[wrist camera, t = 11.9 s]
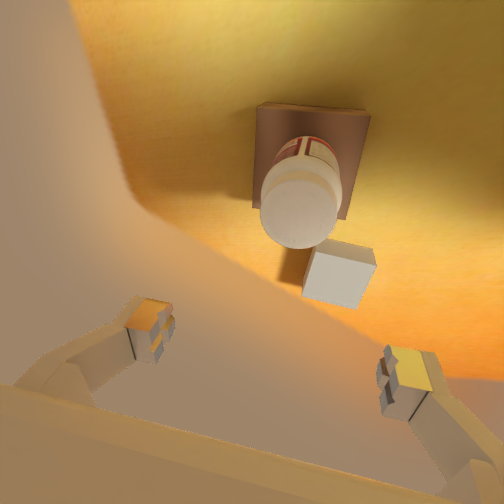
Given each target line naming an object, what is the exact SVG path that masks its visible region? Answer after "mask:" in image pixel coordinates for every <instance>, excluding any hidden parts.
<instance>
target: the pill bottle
mask: <svg viewBox="0 0 504 504" xmlns="http://www.w3.org/2000/svg"><path fill="white" fill-rule="evenodd" d="M341 202H342V186H341V180H340V173H339V165H338V160H337V157H336V154H335V152H334V150H333V149H332V148H331V146H330V145H329V144H328V143H326V142H325V141H323V140H322V139H319V138H317V137H312V136H302V137H298V138H295V139H293V140H291V141H289V142H288V143H286V144H285V145H284V146H283V147H282V148H281V150H280V151H279V152H278V154H277V156H276V158H275V160H274V162H273V164H272V166H271V168H270V169H269V171H268V173H267V175H266V177H265V179H264V182H263V185H262V189H261V203H262V204H261V208H260V218H261V223H262V226H263V228H264V230H265V231H266V233H267V234H268V235H269V236H270V238H272V239H273V240H274V241H275V242H277V243H278V244H280V245H282V246H285V247H288V248H293V249H305V248H310V247H313V246H315V245H318V244H319V243H321V242H322V241H324V240H325V239H326V238H327V237H328V236H329V235H330V234H331V232H332V231H333V229H334V227H335V224H336V221H337V213H338V211H339V209H340V206H341Z"/></svg>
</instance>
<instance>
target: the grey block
mask: <svg viewBox="0 0 504 504" xmlns="http://www.w3.org/2000/svg"><path fill="white" fill-rule="evenodd" d="M376 267H377V264H376V261H375V257H374V253H373V249H371V248H367V247H363V246H358V245H354V244H349V243H345V242H341V241H336V240H332V239H327V238H326V239H325V240H324V241H322V242H321V243H319V244H318V245H315V246H313V249H312V252H311V255H310V258H309V262H308V265H307V268H306V271H305V274H304V278H303V286H302V297H306V298H310V299H314V300H318V301H322V302H326V303H330V304H334V305H338V306H343V307H347V308H351V309H355V310H356V309H357V307H358V305H359V303H360V300H361V298H362V296H363V294H364V292H365V290H366V288H367V286H368V284H369V281H370V279H371V277H372V275H373V273H374V271H375V269H376Z"/></svg>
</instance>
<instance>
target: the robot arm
mask: <svg viewBox="0 0 504 504" xmlns="http://www.w3.org/2000/svg"><path fill="white" fill-rule="evenodd" d="M172 311H173V305H172V304H171V303H169V302H164V301H159V300H155V299H150V298H144V297H140V296H134V297H133V298H132V299H131V300H130V301H129V302H128V303H127V305H126V306H125V307H124V308H123V309H122V311H121V312H120V313H119V314H118V316H117V317H116V318H115V319H114V320H113V321H112V323H111V324H105V325H103V326H101V327H99V328H97V329H95V330H93V331H91V332H89V333H87V334H85V335H82V336H81V337H78V338H76V339H74V340H72V341H71V342H68V343H66V344H64V345H62V346H60V347H58V348H56V349H54V350H52V351H49V352H47V353H46V354H43V355H42V356H41V357H40V358H39V359H38V360H37V361H36V362H35V363H34V364H33V365H32V366H31V367H30V368H29V369H28V370H27V371H26V372H25V373H24V374H23V375H22V376H21V377H20V378H19V379H18V380H17V381H16V382H15V383H14V384H13V385H12V386H11V385H7V384H4V383H0V504H504V444H503V443H502V442H501V441H500V440H499V439H498V438H497V437H496V436H495V435H494V434H493V433H492V432H491V431H490V430H489V429H488V428H487V427H486V426H485V425H484V424H482V422H481V421H480V420H479V419H478V418H477V417H476V416H475V415H474V414H473V413H472V412H471V411H470V410H469V409H468V408H467V407H466V406H465V405H464V404H463V403H462V402H461V401H460V400H459V399H458V398H456V397H452V395H451V392H450V390H449V387H448V384H447V382H446V379H445V376H444V374H443V371H442V368H441V366H440V363H439V360H438V358H437V355H436V354H435V353H433V352H427V351H422V350H417V349H411V348H406V347H400V346H395V345H389V344H388V345H387V346H386V347H385V349H384V356H385V357H383V358H381V359H380V360H379V363H378V366H377V372H376V376H377V385H378V387H379V388H380V389H381V391H382V393H381V395H380V397H379V399H380V405H381V412H382V416H385V417H389V418H393V419H397V420H401V421H405V422H408V424H409V426H410V427H411V429H412V430H413V432H414V433H415V435H416V436H417V437H418V439H419V441H420V442H421V444H422V445H423V446H424V448H425V450H426V451H427V452H428V454H429V455H430V457H431V458H432V460H433V461H434V463H435V464H436V466H437V467H438V469H439V470H440V472H441V473H442V475H443V476H444V478H445V479H446V481H447V482H448V483H447V484H446V485H445V486H444V487H443V488H442V489H441V490H440V491H439V492H438V493H437V494H436V495H431V494H427V493H423V492H419V491H415V490H411V489H407V488H403V487H400V486H396V485H392V484H388V483H384V482H380V481H377V480H373V479H369V478H365V477H361V476H357V475H354V474H350V473H346V472H342V471H338V470H334V469H330V468H327V467H323V466H319V465H315V464H311V463H308V462H304V461H300V460H296V459H292V458H288V457H285V456H281V455H277V454H273V453H269V452H266V451H262V450H258V449H254V448H250V447H246V446H242V445H238V444H235V443H231V442H227V441H223V440H219V439H215V438H212V437H207V436H204V435H200V434H196V433H192V432H188V431H185V430H181V429H177V428H173V427H169V426H165V425H162V424H158V423H154V422H150V421H145V420H142V419H138V418H135V417H131V416H126V415H123V414H119V413H115V412H111V411H108V410H104V409H100V408H97V406H96V403H95V400H94V398H93V396H92V393H93V392H95V391H96V390H97V389H98V388H100V387H101V386H102V385H104V384H105V383H107V382H108V381H110V380H111V379H112V378H114V377H115V376H116V375H118V374H119V373H120V372H122V371H123V370H125V369H126V368H127V367H129V366H130V365H132V364H133V363H134V362H135V360H137V361H141V362H146V363H152V364H157V362H158V360H159V358H160V357H161V355H162V353H163V351H164V347H163V345H164V344H165V343H167V342H169V341H170V339H171V337H172V335H173V332H174V329H175V318H174V317H173V316H172V315H171V313H172Z"/></svg>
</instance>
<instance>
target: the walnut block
mask: <svg viewBox="0 0 504 504" xmlns="http://www.w3.org/2000/svg"><path fill="white" fill-rule="evenodd" d="M370 118H371V116H370V115H369V114H368V113H367V111H366V110H356V109H343V108H330V107H317V106H304V105H291V104H277V103H263V104H262V105H260V106H259V107H257V121H256V141H255V162H254V182H253V202H252V208H256V209H260V208H261V204H262V203H261V189H262V185H263V182H264V179H265V177H266V175H267V173H268V171H269V169H270V168H271V166H272V164H273V162H274V160H275V158H276V156H277V154H278V152H279V151H280V150H281V148H282V147H283V146H284V145H285V144H286V143H288V142H289V141H291V140H293V139H295V138H298V137H302V136H312V137H317V138H319V139H322V140H323V141H325V142H326V143H328V144H329V145H330V146H331V148H332V149H333V150H334V152H335V154H336V157H337V160H338V165H339V173H340V180H341V186H342V202H341V206H340V209H339V211H338V213H337V219H341V220H346V216H347V212H348V208H349V204H350V200H351V196H352V191H353V187H354V183H355V179H356V175H357V171H358V167H359V163H360V159H361V154H362V150H363V146H364V142H365V138H366V134H367V130H368V126H369V122H370Z"/></svg>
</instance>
